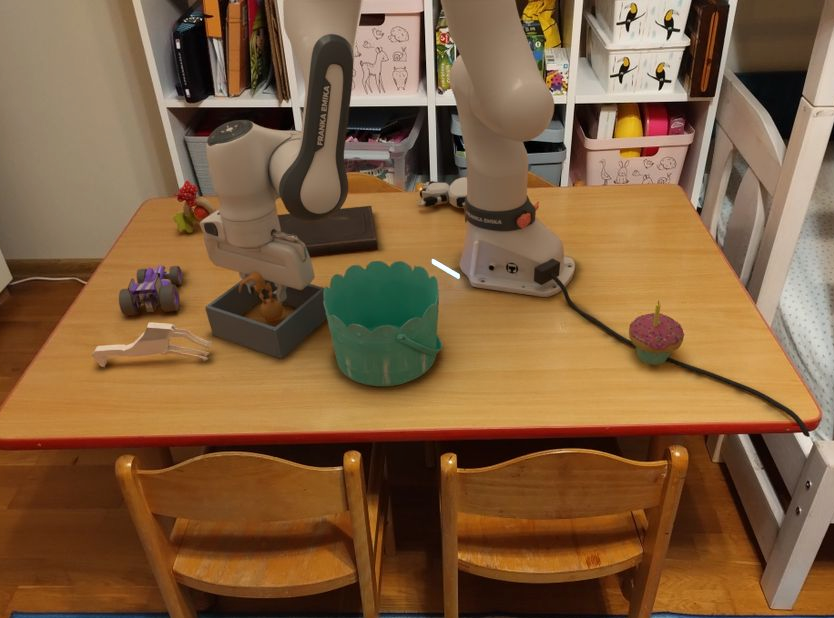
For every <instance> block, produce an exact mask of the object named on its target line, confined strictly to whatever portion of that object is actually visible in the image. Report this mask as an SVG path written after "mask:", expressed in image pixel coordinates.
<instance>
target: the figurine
mask: <svg viewBox="0 0 834 618" xmlns="http://www.w3.org/2000/svg"><path fill="white" fill-rule="evenodd" d="M249 280H252V281H253V282H255V284H256V285H255V286H254V288H255V290H256V291H257V292H259V293H260V294H259V297H260V298H261V299H262V300H261V301H262V303H261V305H260V309H259V311H260V314H261V316H262V317H263V318H264V319H265V320H267V321H270V322H275V321H277V320H279V319H280V318H281V317H282V316H283V314H284V307H283V304H281V302H278V301H275V300H274V299H273V298H272V296H273V294H272V287H271V286H270V283H266V284H265V280H264V279H262V276H261V275H260V274H259V273H258V272H255V271H254V272H252V274H251V275H249V276H248V277H247V278H246V279H244V280H243V281H241V280H240V281H241V283H240V286H239V293H241V292H242V291H241V288H242V286H243V284H244V283H246V282H248V281H249ZM262 289H266V290H269V297H270V299H265V298H263V297H264V296H263V294H262V292H261V291H262ZM240 291H241V292H240Z"/></svg>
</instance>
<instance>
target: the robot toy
mask: <svg viewBox="0 0 834 618" xmlns="http://www.w3.org/2000/svg"><path fill="white" fill-rule="evenodd" d="M466 195H467V176H466V177H459V178H457V179H454V181H453V182H452V183H451V184H448V183H447V182H439V181H434V180H430V181H426V182H425V183H423V187H422V189H421V190H420V191H419V197H420V198H421V199H422V200H419V201H417V202H416V203H417V206H418V207H426V208H429V207H433V206H440V205H443V204H447V203H448V202H449V204H450V205H452V206H453V207H455V208H458V209H461V208H462V209H464V210H465V197H466Z"/></svg>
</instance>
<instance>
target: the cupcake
mask: <svg viewBox="0 0 834 618" xmlns="http://www.w3.org/2000/svg"><path fill="white" fill-rule="evenodd" d="M654 309H655V311H654V312H651V313H645V314H642V315H638V316H637V317H636V318H635V319H634V320H632V321H631V322H630V324H629V328H628V336H629V340H630V341H631V342H632V343H633V344H634V345H635V346H636V348H635V351H636V356H637V357H638V359H639V360H640V361H641V362H643V363H645V364H648V365H653V366H655V365H656V366H657V365H661V364H664V363H666V359H667V358H668V357H669V358H670V355H672V353H673V352H674V351H677V350H678V349H680V348H681V346H682V343H683V342H684V337H685V333H684V329H683V327H682V325H681V323H679V322H678V321H677V320H675V319H674V318H672V317H671V316H668V315H667V314H663V313H660V311H661V303H660V300H657V303H655V308H654Z"/></svg>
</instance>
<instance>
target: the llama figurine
mask: <svg viewBox="0 0 834 618" xmlns="http://www.w3.org/2000/svg"><path fill="white" fill-rule="evenodd" d="M171 338H183V339H185V340H188V341H189V342H192V343H193V344H196V345H197V346H201V347H203V348H205V349H207V350H210V348H211V344H212V342H213V341H212V340H207V339H204V338H201V337H199V336H197V335H196V334H193V333H192V332H190V331H189V330H188V329H187V328H186V329H184V328H176V325H175V324H174V323H165V322H164V323H163V322H153V321H152V322H151V321H149V322H148V324H147V325H146V328H145V330H144V331H143V333H141V334H140V335H139V336H138V337H137V338H136V339H135V341H133V342H131V343H129V344H123V343H122V344H121V343H120V344H107V345H103V344H102V345H97V346H96V347H95V349H94V351H93V352H92V354H91V357H92V358H93V360H94V361H95V362H96V363H97V364H98V365H99V367H102V368H106V365H107V363H108V361H107V359H108V357H109V356H117V357H126V358H127V357H128V358H135V357H136V358H137V357H145V356H153V355H163V356H165V355H169V354H172V355H180V356H184V357H185V356H187V357H190V358H197V359H202V361H203V362H205V361H207V360H208V357H207V356H208V355H209V354H210V352H209V351H205V350H199V349H195V348H190V347H186V346H185V347H184V346H181V345H177V344H173V343H172V344H170V341H171ZM188 352H189V353H188ZM193 353H194V354H193ZM197 354H198V355H197ZM199 354H200V355H199ZM202 355H203V356H202Z"/></svg>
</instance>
